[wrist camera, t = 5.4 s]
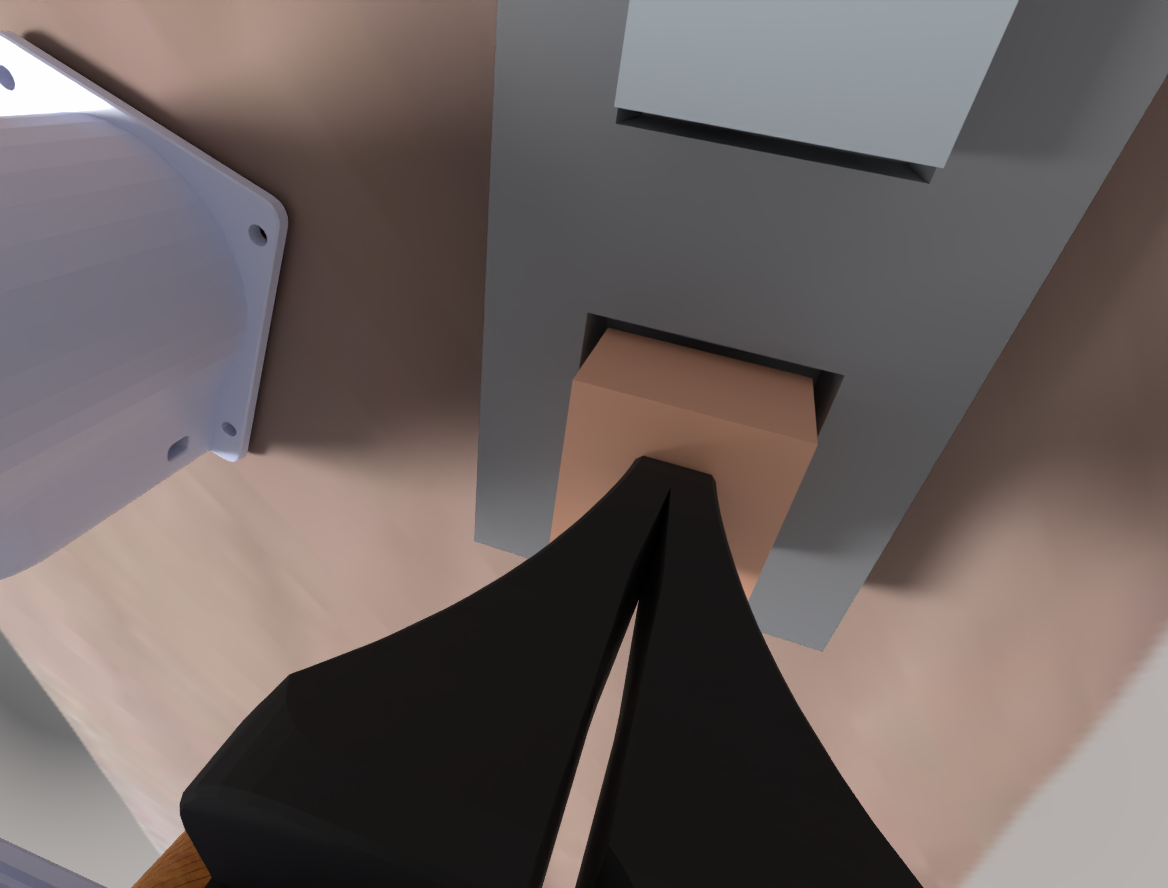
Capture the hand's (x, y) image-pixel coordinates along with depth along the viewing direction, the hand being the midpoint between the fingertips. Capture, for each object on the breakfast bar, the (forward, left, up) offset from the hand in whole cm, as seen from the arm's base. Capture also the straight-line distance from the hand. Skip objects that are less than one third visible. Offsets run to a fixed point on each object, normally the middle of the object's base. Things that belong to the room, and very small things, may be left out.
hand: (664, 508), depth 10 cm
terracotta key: (0, 0, -2) cm, 2 cm away
